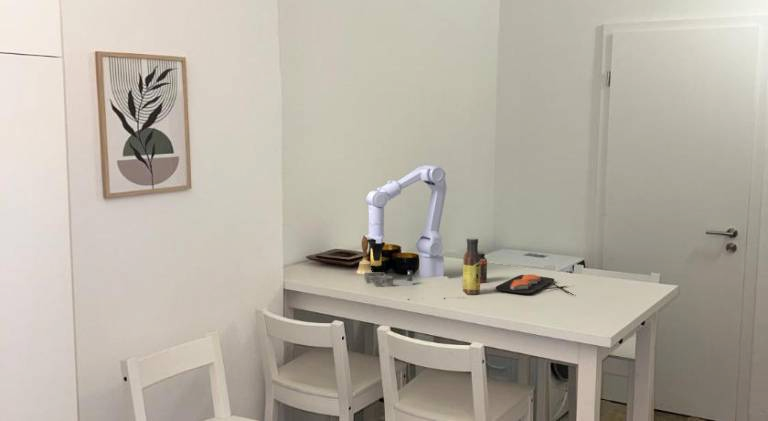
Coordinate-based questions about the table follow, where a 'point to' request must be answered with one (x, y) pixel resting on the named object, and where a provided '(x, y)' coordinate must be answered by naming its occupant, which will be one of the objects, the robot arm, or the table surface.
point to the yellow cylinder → (374, 263)
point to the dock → (379, 279)
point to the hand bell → (364, 259)
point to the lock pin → (404, 282)
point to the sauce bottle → (471, 268)
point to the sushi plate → (527, 284)
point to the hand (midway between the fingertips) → (375, 259)
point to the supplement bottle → (483, 267)
